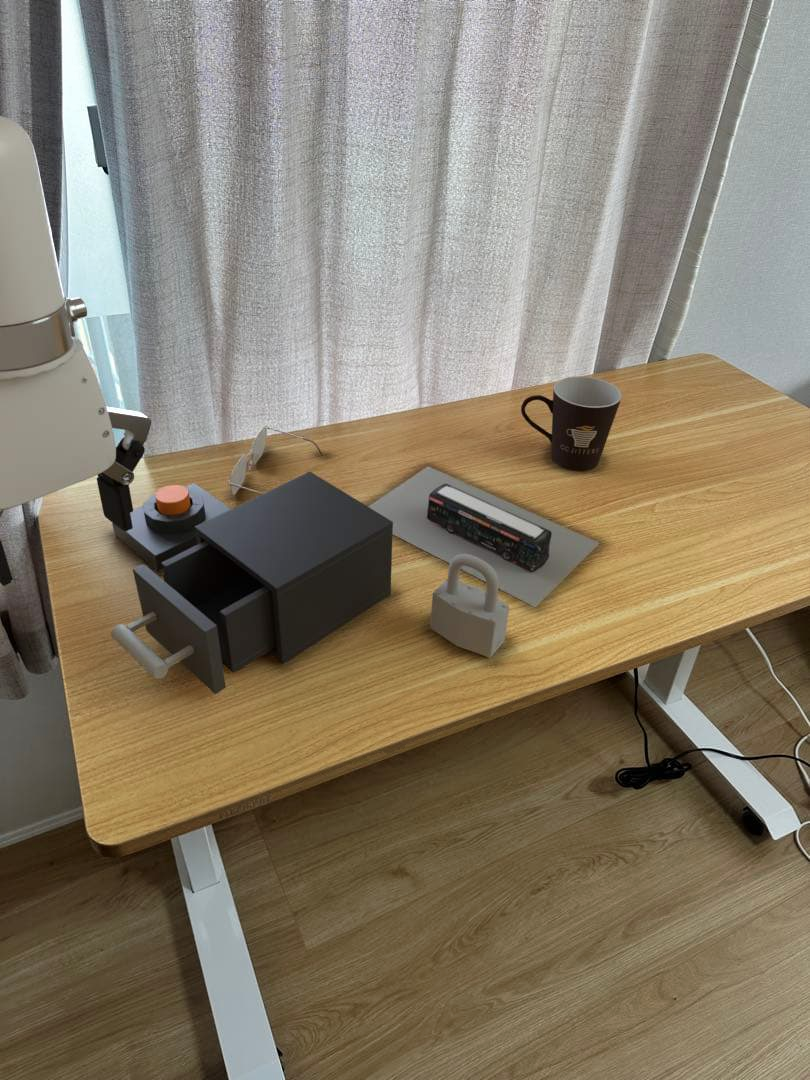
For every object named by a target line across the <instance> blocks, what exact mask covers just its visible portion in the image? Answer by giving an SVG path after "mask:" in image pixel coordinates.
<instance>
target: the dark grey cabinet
mask: <svg viewBox="0 0 810 1080" xmlns="http://www.w3.org/2000/svg"><path fill="white" fill-rule="evenodd" d="M263 493H264V494H259V495H257V496H256V497H253V498H251V499H249V500H247V501H244V502H243V503H241V504H239V505H237V506H234V507H233V508H231V509H230V510H228V511H226V512H224V513H222V514H220V515H218V516H216V517H214V518H212V519H210V520H207V521H205V522H203V523H201V524H199V525H197V526H195V533H196V540H197V545H198V544H200V543H202V542H204V541H207V542H208V543H209V544H211V545H212V546H213V547H214V548H216V549H217V550H218V551H220V552H221V553H222V554H224V555H225V556H226V557H228V558H229V559H230V560H232V561H233V562H234V563H236V564H237V565H238V566H239V567H241V568H242V569H243V570H245V571H246V572H247V573H249V574H250V575H251V576H253V577H254V578H255V579H257V580H258V581H259V582H260V583H262V584H263V585H264V586H266V587H267V588H268V589H270V590H271V591H272V598H273V610H274V621H275V633H276V644H277V646H276V647H275V648H273V649H272V650H270V651H268V652H267V654H269V655H271V656H272V657H273V658H274V659H275V660H277V661H278V662H279V663H280V664H281V665H284V664H286V663H288V662H289V661H290V660H292V659H294V658H296V657H297V656H298V655H300V654H301V653H303V652H305V651H306V650H308V649H309V648H311V647H312V646H314V645H315V644H317V643H319V642H320V641H321V640H323V639H325V638H326V637H328V636H329V635H331V634H332V633H334V632H336V631H337V630H339V629H340V628H341V627H344V626H345V625H346V624H347V623H350V621H353V620H354V619H356V618H358V617H359V616H361V615H362V614H363V613H364V612H366V611H368V610H370V609H371V608H373V607H375V606H376V605H377V604H379V603H381V601H384V600H385V599H386V598H388V597H389V596H391V595H392V589H391V588H392V566H393V565H392V563H393V562H392V561H393V560H392V559H393V534H392V533H393V529H392V528H393V522H392V521H391V520H389V519H387V518H386V517H384V516H382V515H381V514H379V513H378V512H376V511H374V510H373V509H371V508H369V507H368V506H369V505H366V504H364V503H363V502H362V501H359V500H358V499H356V498H355V497H353V496H351V495H350V494H348V493H346V492H345V491H343V490H342V489H340V488H338V487H337V486H335V485H333V484H332V483H330V482H328V481H327V480H325V479H324V478H322V477H321V476H319V475H318V474H316V473H314V472H312V471H307V472H305V473H303V474H301V475H299V476H297V477H295V478H293V479H291V480H289V481H287V482H284V483H282V484H281V485H278V486H276V487H273V488H272V489H270V490H268V491H266V492H263Z"/></svg>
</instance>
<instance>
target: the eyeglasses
mask: <svg viewBox="0 0 810 1080" xmlns="http://www.w3.org/2000/svg"><path fill="white" fill-rule="evenodd" d="M268 430H271V431H274V432H279V433H282V434H285V435H287V436H292V437H296V438H299V439H302V440H305V441H307V442H311V443H313V445H314V446H315V447H316V449H317V451H318V452H319V454H320V455H321V456H324V454H323V452H322V451H321V449H320V448H319V446H318V445H317V443H316V442H315V441H314V440H311V439H309V438H305V437H301V436H298V435H295V434H292V433H289V432H285V431H283V430H280V429H276V428H274V427H270V426H267V425H264V426H263V427H262V428H261V429H260V430H259V432H258V433H257V434H256V435H255V438H254V439H253V441H252V444H251V448H250V451H249V452H248V454H247V453H244V454H243V455H242V456H241V457H240V459H239V460H238V461H237V463H236V464H235V465H234V468H233V469H232V470H231V474H230V477H229V479H228V482H227V484H228V485H230V492H231V495H232V496H235V495H236V494H237V492H238V491H239V490H240V489H243V490H247V491H250V492H254V493H256V494H259V495H262V494H264V493H265V492H261V491H258V490H254V489H251V488H249V487H245V486H242V485H243V483H244V482H245V479H246V475H247V471H252V468H253V465H255V464H256V463H257V462H258V461H259V460H260V458H262V455H263V453H264V451H265V449H266V444H267V435H268V434H267V433H268ZM249 456H251V459H249ZM247 469H248V470H247Z"/></svg>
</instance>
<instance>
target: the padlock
mask: <svg viewBox="0 0 810 1080" xmlns="http://www.w3.org/2000/svg"><path fill="white" fill-rule="evenodd" d="M462 566H469V567H471V568H474V569H476V570H477V571H479V572H480V573H481V574H482V575H483V576H484V577H485V579H486V582H485V583H486V589H485V590H484V589H482V588H480V587H477V586H474V585H471V584H468V583H465V582H462V581H460V574H461V567H462ZM447 573H448V574H447V579H445V580H444V581H443V582H442V583H441V584H440V585H439V586H438V587H437V588H436V589H435V590H434V591H433V592H432V598H431V609H430V610H431V612H430V624H429V628H430V629H431V630H432V631H434V632H435V633H436V634H438V635H440V636H441V637H443V638H444V639H446V640H447V641H449V642H450V643H452V644H453V645H454V646H456V647H459V648H462V649H464V650H467V651H470V652H473V653H475V654H478V655H481V656H484V657H487V658H491V657H493V655H494V654H495V653H496V652H497V651H498V650H499V648H500V647H501V646H502V645H503V644H504V642H505V639H506V632H507V627H508V621H509V613H510V606H509V604H507V603H505V601H504V602H503V601H502V600H500V599H499V598H498V596H499V590H500V589H499V580H498V576H497V574H496V572H495V570H494V569H493V568H492V567H491V566H490V565H489V564H488V563H486V562H485V561H483V560H482V559H480V558H478V557H475V556H472V555H468V554H460V555H457V556H455V557H454V558H453V559H452V560H451V562H450V563H449V565H448V572H447Z"/></svg>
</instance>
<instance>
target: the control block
mask: <svg viewBox="0 0 810 1080" xmlns="http://www.w3.org/2000/svg"><path fill="white" fill-rule="evenodd" d="M184 487H185V488H187V490H188V492H189V498H190V508H189V509H188V510H187V511H186V512H183V513H181V514H176V515H165V514H162V513H160V512H159V511H158V508H157V503H156V498H155V495H156V492H155V493H153V494H151V495H150V496H149V497H148V498H147V499H146V500H145V501H144V502H143V505H141V506H138V507H137V508H135V509H134V508H133V512H131V513H130V515H131V521H132V526H133V528H132V529H130V530H128V531H125V530H124V531H122V530H121V529H120V528H119V527H117V526H116V525H115V524H113V523H112V522H111V525H112V529H113V532H114V533H113V534H114V536H115V537H117V538H118V539H119V540H120V541H121V542H123V544H125V545H126V546H127V547H129V548H130V549H131V550H132V551H133V552H134V553H136V554H137V555H138V556H139V557H141V559H143V560H144V561H145V562H147V563H148V564H149V566H151V567H153V569H155V571H157V572H160V571H163V570H162V565H161V563H162V562H164V561H166V560H168V559H170V558H172V557H174V556H176V555H178V554H180V553H182V552H184V551H186V550H188V549H190V548H192V547H194V546H196V545H197V540H196V533H195V526H197V525H199V524H201V523H203V522H205V521H207V520H210V519H212V518H214V517H216V516H218V515H220V514H222V513H224V512H226V511H228V510H230V509H232V508H230V507H229V506H228V505H227V504H225V503H224V502H223V501H221V500H219V499H217V498H216V497H215V496H213V494H210V493H209V492H208V491H206V490H205V489H204V488H203V487H201V486H200V485H198V484H197V483H195V482H193V483H191V484H189V485H187V486H184Z"/></svg>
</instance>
